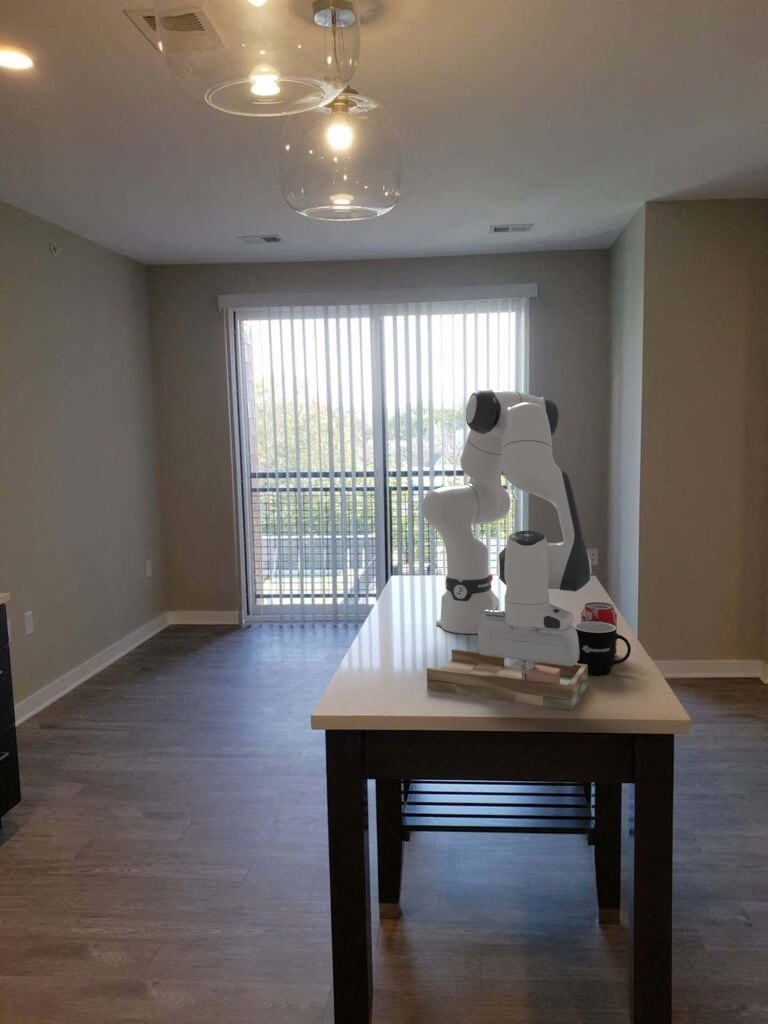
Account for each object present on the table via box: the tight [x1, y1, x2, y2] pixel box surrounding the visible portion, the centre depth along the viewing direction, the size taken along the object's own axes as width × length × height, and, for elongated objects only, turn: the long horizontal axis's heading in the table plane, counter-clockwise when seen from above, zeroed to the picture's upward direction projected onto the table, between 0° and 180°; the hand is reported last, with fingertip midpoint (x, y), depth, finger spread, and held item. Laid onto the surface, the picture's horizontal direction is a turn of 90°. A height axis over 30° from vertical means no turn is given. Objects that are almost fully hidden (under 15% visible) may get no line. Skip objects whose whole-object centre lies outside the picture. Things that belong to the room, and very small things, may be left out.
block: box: [528, 665, 560, 684], centre depth 149 cm, size 5×5×4 cm
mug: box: [573, 621, 632, 677], centre depth 164 cm, size 12×9×10 cm
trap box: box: [426, 648, 589, 711], centre depth 156 cm, size 15×30×4 cm, turn 63°
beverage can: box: [580, 601, 618, 655], centre depth 176 cm, size 8×8×12 cm
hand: (527, 681), depth 151 cm, fingers closed
